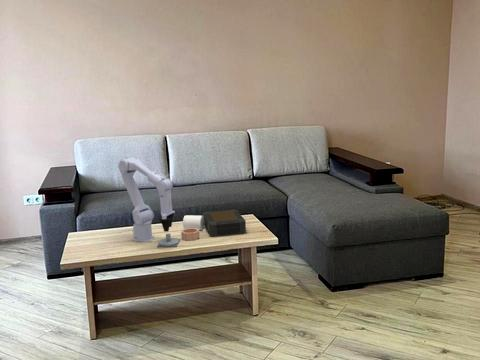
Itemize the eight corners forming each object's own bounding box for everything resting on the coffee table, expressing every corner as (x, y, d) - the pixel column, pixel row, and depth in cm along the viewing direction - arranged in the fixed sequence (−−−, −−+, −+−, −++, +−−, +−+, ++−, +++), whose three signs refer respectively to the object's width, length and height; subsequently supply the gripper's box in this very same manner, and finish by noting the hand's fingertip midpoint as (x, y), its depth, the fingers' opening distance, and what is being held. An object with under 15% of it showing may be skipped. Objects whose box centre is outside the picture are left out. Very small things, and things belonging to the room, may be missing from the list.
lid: (157, 246, 252) (156, 237, 251) (161, 239, 262) (160, 231, 261) (176, 245, 252) (176, 237, 251) (180, 239, 261) (179, 231, 261)
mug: (200, 231, 275) (199, 217, 273) (183, 231, 277) (182, 217, 276) (206, 225, 287) (205, 212, 285) (189, 225, 289) (188, 211, 287)
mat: (157, 247, 252) (157, 246, 252) (161, 240, 262) (161, 239, 262) (176, 246, 252) (176, 245, 252) (180, 240, 262) (180, 239, 261)
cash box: (247, 234, 269) (247, 220, 268) (210, 237, 265) (209, 223, 263) (237, 221, 293) (237, 208, 291) (203, 224, 289) (202, 211, 287)
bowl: (180, 240, 261) (180, 233, 260) (183, 235, 270) (183, 228, 269) (198, 240, 261) (197, 233, 260) (200, 235, 269) (199, 227, 269)
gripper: (171, 206, 245) (173, 233, 248) (176, 199, 259) (178, 224, 262) (157, 207, 246) (159, 233, 248) (162, 199, 260) (164, 225, 263)
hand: (167, 229), depth 255 cm, fingers open, 7 cm apart
